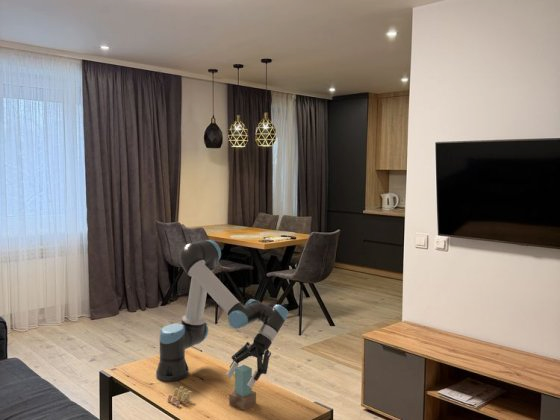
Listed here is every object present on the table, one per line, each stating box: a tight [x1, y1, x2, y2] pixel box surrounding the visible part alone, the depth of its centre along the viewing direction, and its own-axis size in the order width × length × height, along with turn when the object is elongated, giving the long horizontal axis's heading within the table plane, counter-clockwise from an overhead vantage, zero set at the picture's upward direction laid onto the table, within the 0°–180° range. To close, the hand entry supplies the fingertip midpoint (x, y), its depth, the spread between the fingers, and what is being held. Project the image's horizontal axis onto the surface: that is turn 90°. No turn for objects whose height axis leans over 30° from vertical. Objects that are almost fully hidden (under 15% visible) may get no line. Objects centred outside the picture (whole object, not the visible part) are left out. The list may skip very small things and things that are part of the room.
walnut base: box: [228, 390, 257, 411], centre depth 206 cm, size 8×8×5 cm
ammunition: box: [167, 386, 192, 408], centre depth 207 cm, size 5×7×8 cm
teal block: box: [234, 364, 253, 397], centre depth 205 cm, size 5×5×11 cm
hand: (238, 381), depth 203 cm, fingers open, 13 cm apart
